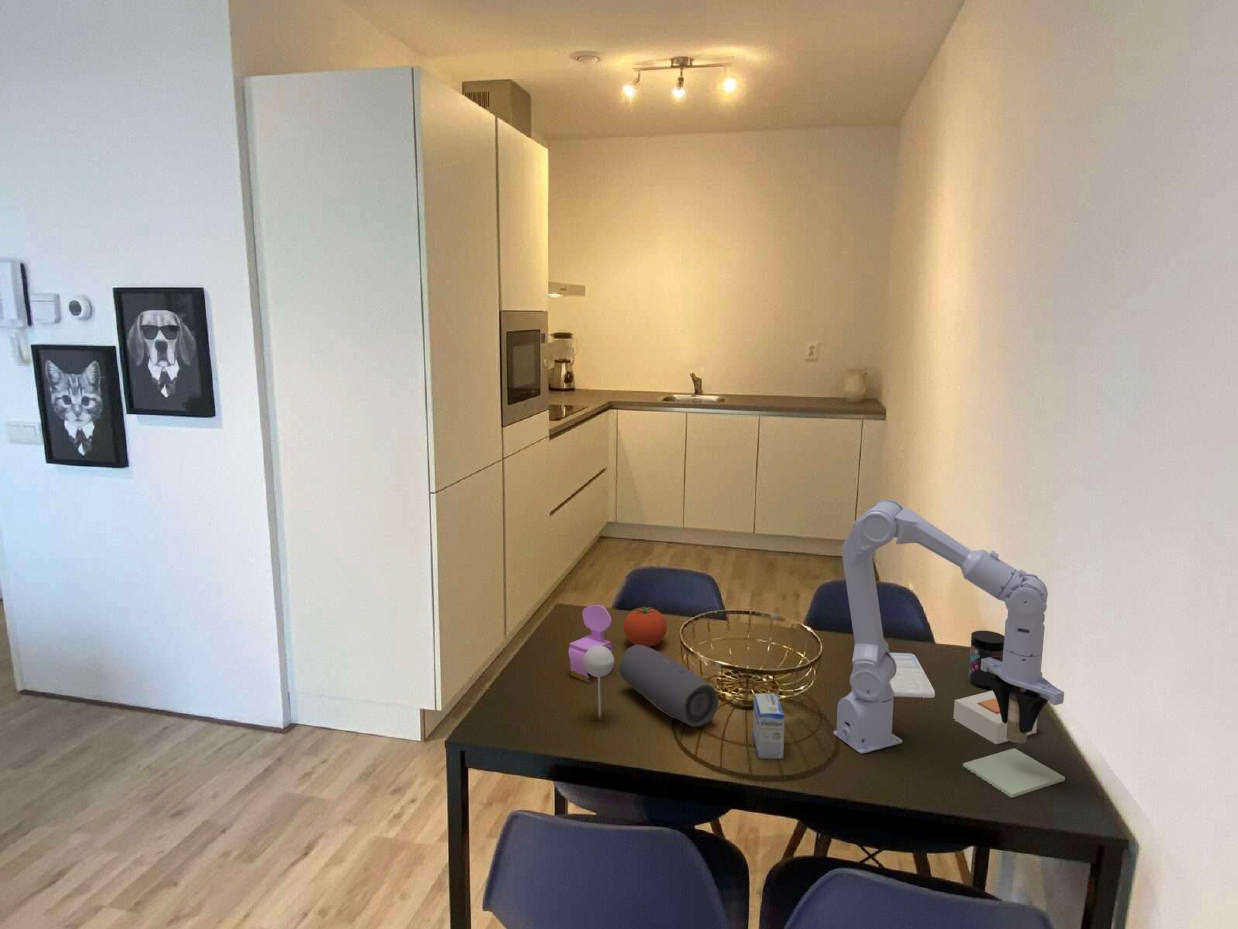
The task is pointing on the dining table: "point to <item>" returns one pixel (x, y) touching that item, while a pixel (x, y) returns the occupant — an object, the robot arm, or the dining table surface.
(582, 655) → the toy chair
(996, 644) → the supplement container
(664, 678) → the bluetooth speaker
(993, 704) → the button
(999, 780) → the sage board
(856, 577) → the robot arm
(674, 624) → the dining table surface
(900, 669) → the calculator
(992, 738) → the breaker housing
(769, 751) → the medicine box
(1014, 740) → the tan lidded jar
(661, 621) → the tomato
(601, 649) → the lollipop
